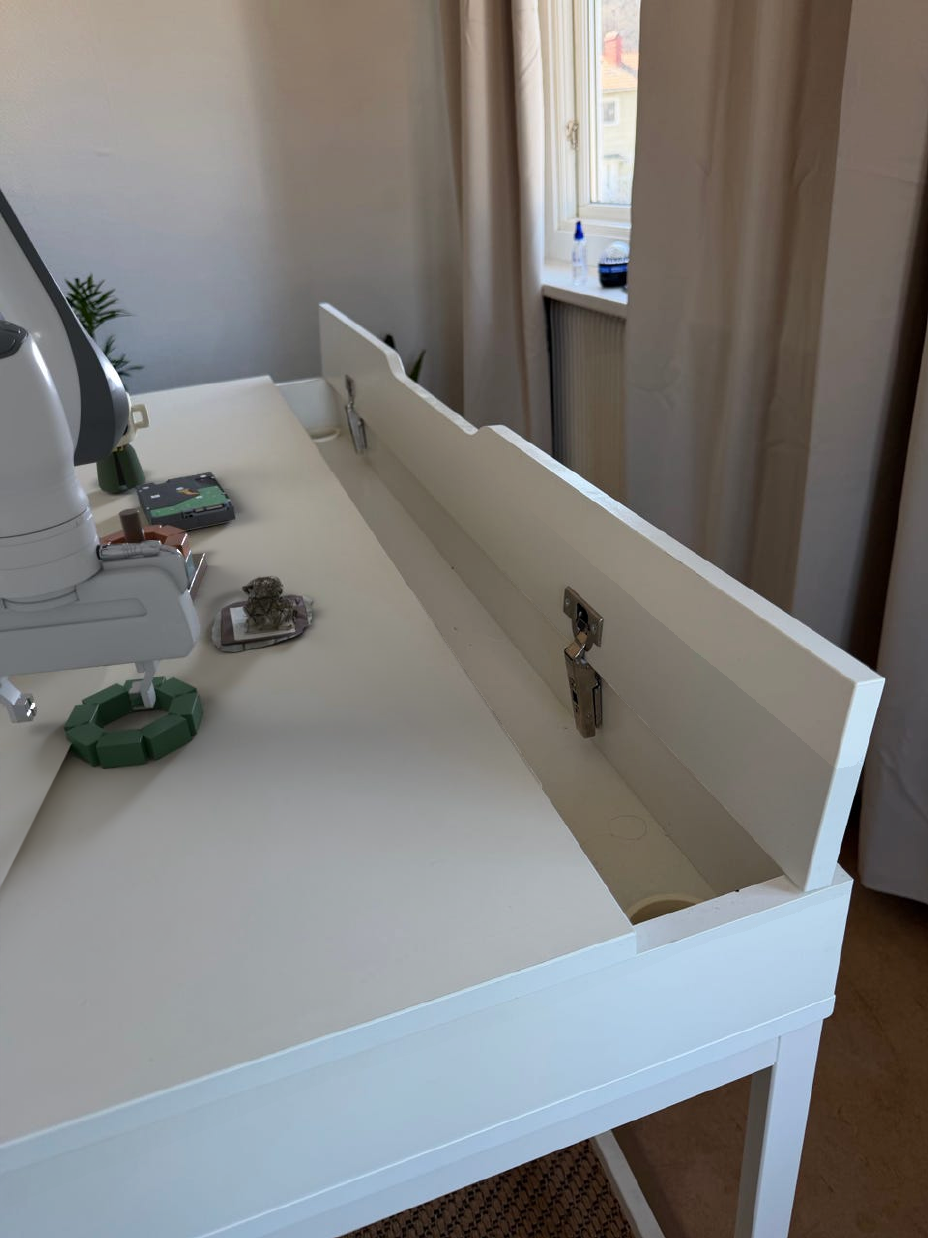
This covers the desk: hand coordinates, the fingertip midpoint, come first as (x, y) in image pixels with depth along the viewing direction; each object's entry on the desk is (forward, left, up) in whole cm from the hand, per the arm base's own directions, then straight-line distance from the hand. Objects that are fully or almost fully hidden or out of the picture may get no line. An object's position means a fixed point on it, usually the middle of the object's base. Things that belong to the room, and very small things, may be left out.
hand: (85, 712), depth 75 cm
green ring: (+4, 0, -2) cm, 4 cm away
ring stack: (-1, +28, -2) cm, 28 cm away
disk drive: (-1, +52, -2) cm, 52 cm away
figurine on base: (+12, +18, -2) cm, 21 cm away
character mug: (-12, +65, -2) cm, 66 cm away
